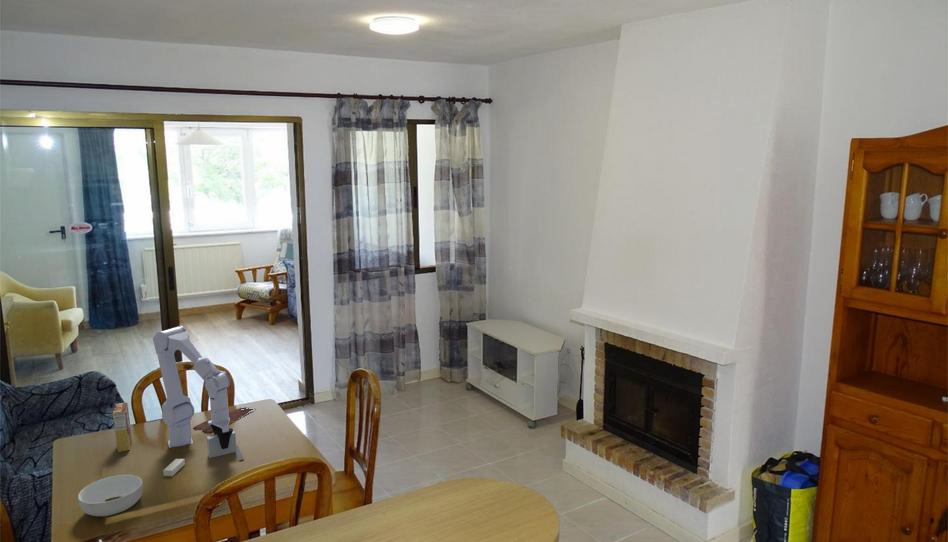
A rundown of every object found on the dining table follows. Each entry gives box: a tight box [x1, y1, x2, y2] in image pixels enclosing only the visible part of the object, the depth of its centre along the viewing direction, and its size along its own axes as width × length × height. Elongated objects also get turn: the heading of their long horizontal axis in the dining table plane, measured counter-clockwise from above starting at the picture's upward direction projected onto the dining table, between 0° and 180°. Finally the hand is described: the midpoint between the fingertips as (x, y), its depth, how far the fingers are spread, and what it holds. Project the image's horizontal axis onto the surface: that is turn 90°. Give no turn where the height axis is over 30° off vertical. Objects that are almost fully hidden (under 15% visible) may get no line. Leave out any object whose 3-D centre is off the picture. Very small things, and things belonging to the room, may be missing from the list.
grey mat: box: [235, 445, 245, 462], centre depth 226 cm, size 12×12×1 cm
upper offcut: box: [162, 458, 186, 477], centre depth 214 cm, size 3×8×2 cm, turn 177°
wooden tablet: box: [192, 407, 253, 434], centre depth 259 cm, size 26×2×10 cm
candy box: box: [112, 402, 133, 453], centre depth 233 cm, size 9×4×15 cm, turn 23°
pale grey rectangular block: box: [206, 430, 237, 459], centre depth 226 cm, size 2×9×8 cm, turn 124°
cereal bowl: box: [77, 474, 144, 517], centre depth 192 cm, size 17×17×7 cm
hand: (222, 444), depth 226 cm, fingers open, 7 cm apart
